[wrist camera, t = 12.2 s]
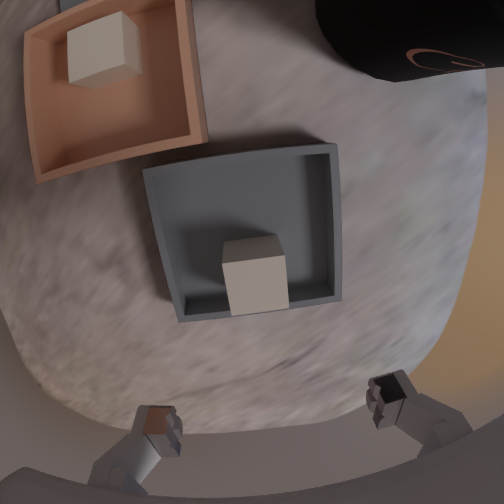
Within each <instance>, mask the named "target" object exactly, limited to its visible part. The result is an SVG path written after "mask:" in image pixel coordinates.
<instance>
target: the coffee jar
mask: <svg viewBox="0 0 504 504" xmlns="http://www.w3.org/2000/svg"><path fill="white" fill-rule="evenodd" d="M315 6H316V18H317V20H318V22H319V25H320V27H321V30H322V32H323V35H324V37H325V38H326V39H327V41H328V42H329V43H330V45H331V46H332V47H333V49H334V50H335V51H336V53H337V54H338V55H340V56H341V57H342V58H343V59H345V60H346V61H347V62H348V63H349V64H351V65H352V66H353V67H354V68H356V69H358V70H360V71H362V72H364V73H366V74H368V75H370V76H372V77H374V78H376V79H381V80H386V81H391V82H401V81H409V80H415V79H420V78H425V77H431V76H436V75H442V74H448V73H454V72H461V71H468V70H476V69H485V68H495V67H504V0H315Z"/></svg>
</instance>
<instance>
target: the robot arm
mask: <svg viewBox="0 0 504 504" xmlns="http://www.w3.org/2000/svg"><path fill="white" fill-rule="evenodd" d="M368 386H369V389H368V390H367V393H366V403H367V406H368V409H369V411H370V412H372V413H374V415H373V421H374V423H375V425H376V428H377V429H382V428H385V427H389V426H392V425H396V426H397V427H398V428H400V429H401V430H403V431H404V432H405V433H407V434H408V435H409V436H411V437H412V438H414V439H415V440H417V441H418V442H420V443H421V444H423V447H422V449H421V450H420V452H419V454H418V456H417V457H418V458H415V459H413V460H410V461H408V462H405V463H402V464H399V465H397V466H394V467H391V468H388V469H385V470H382V471H379V472H376V473H372V474H369V475H365V476H362V477H359V478H355V479H351V480H347V481H343V482H339V483H335V484H330V485H325V486H321V487H315V488H310V489H305V490H299V491H292V492H285V493H278V494H269V495H259V496H247V497H231V498H230V497H229V498H186V497H168V496H156V495H148V492H147V491H146V490H145V489H144V488H143V487H142V486H141V485H140V483H141V482H142V481H143V479H144V478H145V477H146V476H147V475H148V473H149V472H150V471H151V470H152V469H153V467H154V466H155V465H156V464H157V462H158V461H159V460H160V459H161V457H180V450H181V444H180V442H179V439H180V438H181V437H182V434H183V427H182V422H181V419H180V417H179V416H177V415H176V409H175V407H174V406H157V405H140V406H139V407H138V409H137V412H136V416H135V419H134V423H133V427H132V430H131V434H127V435H125V436H124V437H123V438H122V439H121V440H120V441H119V442H117V443H116V444H115V445H114V446H113V447H112V448H111V449H109V450H108V451H107V452H106V453H105V454H104V455H102V456H101V457H100V458H99V459H98V460H97V461H95V462H94V464H93V468H92V471H91V474H90V477H89V481H88V484H87V485H86V484H82V483H78V482H74V481H71V480H66V479H63V478H60V477H56V476H53V475H50V474H47V473H43V472H40V471H37V470H35V469H32V468H29V467H23V468H20V469H18V470H17V471H15V472H13V473H12V474H10V475H8V476H7V477H5V478H4V479H3V480H2V481H1V482H0V504H504V414H502V415H500V416H499V417H497V418H496V419H494V420H492V421H491V422H489V423H487V424H485V425H484V426H482V427H480V428H479V429H477V430H475V431H473V430H472V428H471V426H470V425H469V423H468V422H467V420H466V419H465V417H464V415H463V414H462V412H460V411H458V410H456V409H453V408H451V407H449V406H447V405H445V404H442V403H441V402H438V401H436V400H434V399H432V398H430V397H428V396H426V395H424V394H422V393H420V394H418V393H417V391H416V389H415V388H414V386H413V385H412V383H411V381H410V380H409V378H408V377H407V375H406V373H405V372H404V370H402V369H401V370H398V371H395V372H391V373H387V374H384V375H380V376H377V377H373V378H370V379H369V382H368Z"/></svg>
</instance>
